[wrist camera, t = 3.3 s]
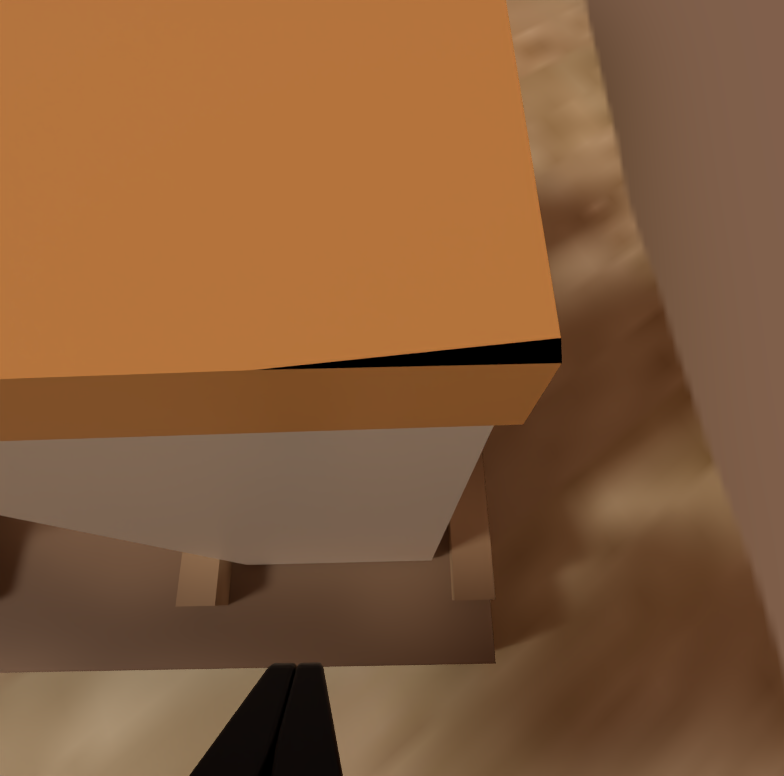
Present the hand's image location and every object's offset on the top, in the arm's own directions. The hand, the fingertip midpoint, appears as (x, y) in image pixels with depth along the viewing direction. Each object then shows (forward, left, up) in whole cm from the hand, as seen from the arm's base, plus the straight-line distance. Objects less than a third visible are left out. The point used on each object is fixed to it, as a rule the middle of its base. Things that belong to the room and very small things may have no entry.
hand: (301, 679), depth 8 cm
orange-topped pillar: (+5, -1, -5) cm, 7 cm away
